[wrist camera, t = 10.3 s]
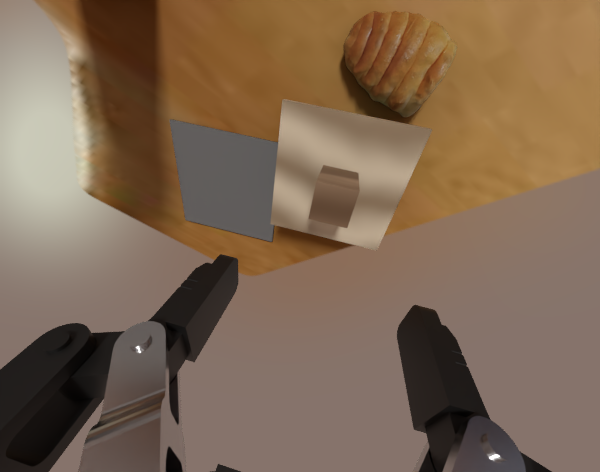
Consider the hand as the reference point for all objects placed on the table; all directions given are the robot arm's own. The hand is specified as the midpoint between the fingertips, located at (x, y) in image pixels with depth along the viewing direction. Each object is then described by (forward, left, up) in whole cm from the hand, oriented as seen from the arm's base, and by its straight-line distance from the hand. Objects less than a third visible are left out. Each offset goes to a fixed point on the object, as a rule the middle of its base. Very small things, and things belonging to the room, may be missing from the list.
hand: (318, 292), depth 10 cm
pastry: (-10, +3, -21) cm, 24 cm away
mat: (+6, -15, -21) cm, 26 cm away
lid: (0, 0, -16) cm, 16 cm away
